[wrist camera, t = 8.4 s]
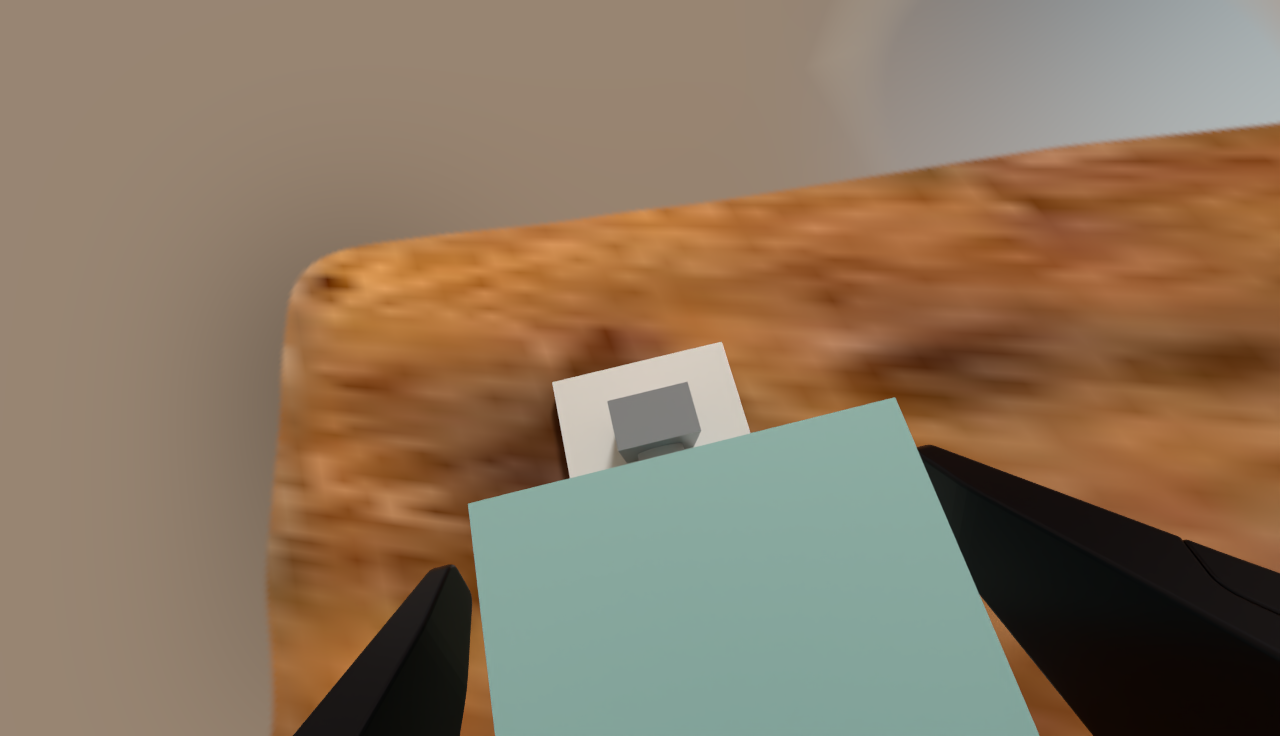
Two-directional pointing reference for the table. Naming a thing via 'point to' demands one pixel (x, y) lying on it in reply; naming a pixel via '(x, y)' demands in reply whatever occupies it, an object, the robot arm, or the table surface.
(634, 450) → the shaft bracket
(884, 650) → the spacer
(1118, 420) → the table surface
